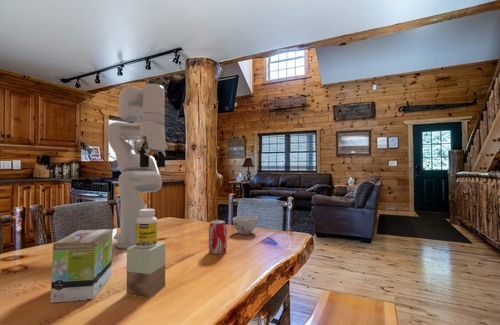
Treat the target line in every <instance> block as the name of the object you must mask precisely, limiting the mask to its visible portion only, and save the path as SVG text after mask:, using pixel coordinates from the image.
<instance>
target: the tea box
mask: <svg viewBox="0 0 500 325" xmlns="http://www.w3.org/2000/svg"><path fill="white" fill-rule="evenodd" d="M112 255H113V229H109V228H107V229H105V228H104V229H80V230H79V229H78V230H76V231H74V232H72V233H70V234H69V235H67V236H65V237H63V238H60V239H59V240H57V241H55V242H53V244H52V261H51V285H50V286H51V288H50V300H49V301H50V302H49V303H68V302H78V301H79V300H80V301H88V300H87V299H90V300H93V299H94V298H95V297H96V295H97V294H98V293H99V292H100V290H102V288H103V286H104V285H105V284H106V283H107V281H109V279H110V278H111V276H112V265H113V264H112V260H113V256H112Z"/></svg>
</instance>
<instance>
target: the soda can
mask: <svg viewBox="0 0 500 325" xmlns="http://www.w3.org/2000/svg"><path fill="white" fill-rule="evenodd" d="M227 237H228V226H227V224H226V221H225V220H223V219H222V220H221V219H216V220H215V219H214V220H211V221H210V224H209V226H208V251H209V252H210V253H211V254H213V255H222V254H224V253H225V252H226V251H227V248H228V238H227Z"/></svg>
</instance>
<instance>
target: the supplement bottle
mask: <svg viewBox="0 0 500 325" xmlns="http://www.w3.org/2000/svg"><path fill="white" fill-rule="evenodd" d="M155 213H156V210H155V208H145V209H141V210H139V215H140V217H139V218H138V219H137V220H136V247H138V248H150V247H154V246H155V245H156V244H157V242H158V218H157V217H156V216H155V215H156V214H155Z"/></svg>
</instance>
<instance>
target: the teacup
mask: <svg viewBox="0 0 500 325" xmlns="http://www.w3.org/2000/svg"><path fill="white" fill-rule="evenodd" d="M232 223H233V226H234V228H235V230H236V231H237V232H238V233H239V234H240V235H250V234H251V233H252V232H253V231H254V230H255V229H256V227H257V224H258V216H256V215H239V216H234V217H232Z"/></svg>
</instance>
